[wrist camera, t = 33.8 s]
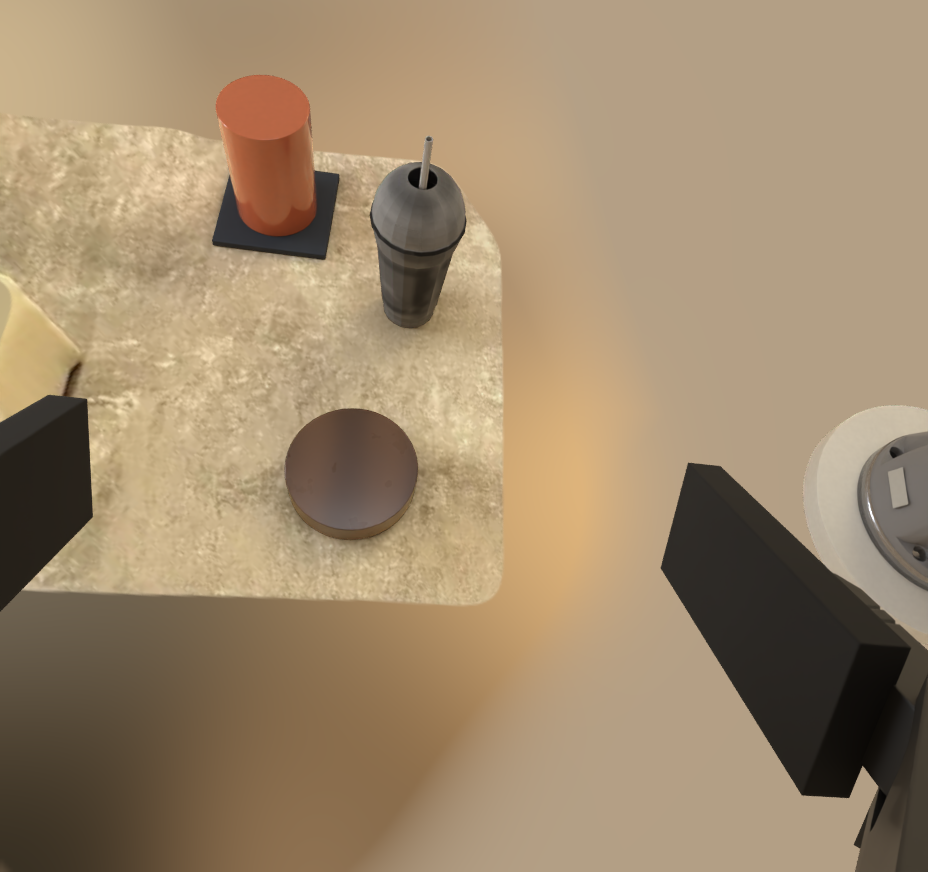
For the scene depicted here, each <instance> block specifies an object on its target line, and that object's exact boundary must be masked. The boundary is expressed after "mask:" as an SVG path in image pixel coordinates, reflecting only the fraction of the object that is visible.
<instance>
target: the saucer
mask: <svg viewBox="0 0 928 872" xmlns="http://www.w3.org/2000/svg"><path fill="white" fill-rule="evenodd" d="M417 475H418V463H417V457H416V453H415V450H414V447H413V445H412V443H411V441H410V440H409V438H408V436H407V435H406V434H405V432H404V431H403V430H402V429H401V428H400V427H399V426H398V425H397V424H395V423H394V422H393V421H391V420H390V419H388V418H387V417H385V416H383V415H381V414H378V413H376V412H372V411H369V410H364V409H353V408H351V409H340V410H335V411H332V412H328V413H326V414H323V415H321V416H319V417H317V418H316V419H314V420H312V421H311V422H310V423H308V424H307V425H306V426H305V427H304V428H303V429H302V430H301V431H300V432H299V433H298V434H297V435H296V437H295V438H294V440H293V442H292V443H291V445H290V447H289V450H288V452H287V456H286V460H285V480H286V485H287V489H288V492H289V496H290V499H291V502H292V504H293V506H294V508H295V510H296V511H297V513H298V514H299V516H300V517H301V518H302V519H303V520H304V521H305V522H306V523H307V524H308V525H309V526H311V527H312V528H313V529H315V530H317V531H318V532H320V533H322V534H325V535H327V536H330V537H334V538H338V539H344V540H356V539H363V538H368V537H372V536H374V535H377V534H379V533H381V532H383V531H385V530H387V529H388V528H390V527H391V526H393V525H394V524H395V523H396V522H397V521H398V520H399V519H400V518H401V517H402V516H403V515H404V513H405V512H406V510H407V509H408V507H409V505H410V503H411V501H412V498H413V495H414V491H415V486H416V481H417Z"/></svg>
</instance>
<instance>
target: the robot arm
mask: <svg viewBox="0 0 928 872" xmlns="http://www.w3.org/2000/svg"><path fill="white" fill-rule="evenodd" d="M857 499H858V507H859V511H860V515H861V518H862V521H863V524H864V527H865V529H866V531H867V533H868V535H869V537H870V539H871V541H872V542H873V544H874V545H875V547H876V548H877V550H878V551H879V552H880V554H881V555H882V556H883V557H884V559H885V560H886V561H887V562H888V563H889V564H890V565H891V566H892V567H893V568H894V569H895V570H896V571H897V572H898V573H900V574H901V575H902V576H903V577H905V578H906V579H907V580H909V581H910V582H912V583H913V584H915V585H917V586H918V587H920V588H922V589H924V590H926V591H928V431H927V432H920V433H914V434H909V435H905V436H902V437H899V438H897V439H895V440H893V441H891V442H889V443H888V444H886V445H884V446H883V447H881V448H879V449H878V450H877V451H875V452H874V453H873V454H872V455H871V456H870V457H869V458H868V460H867V461H866V462H865V464H864V466H863V468H862V470H861V472H860V476H859V480H858V486H857ZM92 517H93V511H92V490H91V470H90V449H89V429H88V408H87V399H83V398H74V397H64V396H55V395H47V396H46V397H44V398H42V399H41V400H39V401H37V402H35V403H34V404H32V405H30V406H28V407H27V408H25V409H23V410H21V411H20V412H18V413H16V414H14V415H13V416H11V417H9V418H7V419H6V420H4V421H2V422H0V611H1V610H2V609H3V608H4V607H5V606H6V605H7V604H8V603H9V602H10V601H11V600H12V599H13V598H14V597H15V596H16V595H17V594H18V593H19V592H20V591H21V590H22V589H23V588H24V587H25V586H26V585H27V584H28V583H29V582H30V581H31V580H32V579H33V578H34V577H35V576H36V575H37V574H38V573H39V572H40V571H41V569H42V568H43V567H44V566H45V565H46V564H47V563H48V562H49V561H50V560H51V559H52V558H53V557H54V556H55V555H56V554H57V553H58V552H59V551H60V550H61V549H62V548H63V547H64V546H65V545H66V544H67V543H68V542H69V541H70V540H71V539H72V538H73V537H74V536H75V535H76V534H77V533H78V532H79V531H80V530H81V529H82V528H83V527H84V526H85V524H86V523H87V522H88V521H89V520H90V519H91V518H92ZM661 569H662V571H663V573H664V574H665V576H666V577H667V579H668V581H669V582H670V584H671V585H672V587H673V589H674V590H675V592H676V594H677V595H678V597H679V598H680V600H681V602H682V603H683V605H684V606H685V608H686V610H687V611H688V613H689V614H690V616H691V618H692V619H693V621H694V623H695V624H696V626H697V627H698V629H699V630H700V632H701V634H702V635H703V637H704V638H705V640H706V642H707V643H708V645H709V647H710V648H711V650H712V651H713V653H714V655H715V656H716V658H717V659H718V661H719V663H720V664H721V666H722V668H723V669H724V671H725V672H726V674H727V675H728V677H729V679H730V680H731V682H732V684H733V685H734V687H735V688H736V690H737V691H738V693H739V695H740V697H741V698H742V700H743V701H744V703H745V705H746V706H747V708H748V709H749V711H750V713H751V714H752V716H753V717H754V719H755V721H756V722H757V724H758V725H759V727H760V729H761V730H762V732H763V733H764V735H765V737H766V738H767V740H768V742H769V743H770V745H771V746H772V748H773V750H774V751H775V753H776V754H777V756H778V758H779V759H780V761H781V763H782V764H783V766H784V767H785V769H786V771H787V772H788V774H789V775H790V777H791V779H792V780H793V782H794V783H795V785H796V787H797V788H798V790H799V791H800V793H801V795H806V796H823V797H840V798H849V797H850V795H851V792H852V790H853V787H854V785H855V782H856V780H857V778H858V775H859V773H860V770H861V768H862V766H863V767H864V768H865V769H866V771H867V772H868V773H869V775H870V776H871V777H872V779H873V780H874V781H875V782H876V784H877V785H878V786H879V787H878V790H877V792H876V794H875V797H874V799H873V801H872V803H871V806H870V808H869V810H868V813H867V815H866V818H865V820H864V822H863V824H862V827H861V829H860V832H859V834H858V836H857V838H856V841H855V843H854V845H855V846H857V847H858V848H860V853H859V857H858V861H857V866H856V870H855V872H928V650H927V649H926V648H925V647H924V646H922V645H921V644H920V643H919V642H918V641H917V640H916V639H915V638H914V637H913V636H912V635H911V634H909V633H908V632H907V631H906V630H905V629H904V628H903V627H902V626H901V625H900V624H896V623H895V620H894V619H893V618H892V617H891V616H890V615H889V614H888V613H887V612H886V611H885V610H880V606H879V605H878V604H877V603H876V602H875V601H874V600H873V599H872V598H871V597H869V596H868V595H867V594H866V593H865V592H864V591H863V590H862V589H860V588H859V587H857V586H855V585H854V584H852V583H850V582H849V581H847V580H845V579H844V578H842V577H840V576H839V575H837V574H835V573H832V572H831V571H830V570H829V569H828V568H827V567H826V566H825V565H824V564H823V563H822V562H821V561H820V560H818V559H817V558H816V557H815V556H814V555H813V554H812V553H811V552H810V551H809V550H808V549H807V548H806V547H805V546H804V545H803V544H802V543H801V542H799V541H798V540H797V539H796V538H795V537H794V536H793V535H792V534H791V533H790V532H789V531H788V530H787V529H786V528H785V527H784V526H783V525H781V523H780V522H778V521H777V520H776V519H775V518H774V517H773V516H772V515H771V514H770V513H769V512H768V511H767V510H766V509H765V508H764V507H763V506H762V505H761V504H759V503H758V502H757V501H756V500H755V499H754V498H753V497H752V496H751V495H750V494H749V493H748V492H747V491H746V490H745V489H744V488H743V487H741V485H739V484H738V483H737V482H736V481H735V480H734V479H733V478H732V477H731V476H730V475H729V474H728V473H727V472H726V471H725V470H723V468H722V467H721V466H714V465H704V464H694V463H688V466H687V469H686V473H685V477H684V481H683V485H682V488H681V492H680V496H679V500H678V504H677V507H676V511H675V515H674V519H673V523H672V527H671V531H670V535H669V538H668V542H667V546H666V550H665V554H664V557H663V561H662V566H661Z"/></svg>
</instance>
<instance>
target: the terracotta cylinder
mask: <svg viewBox="0 0 928 872" xmlns="http://www.w3.org/2000/svg"><path fill="white" fill-rule="evenodd" d="M216 113H217V117H218V122H219V127H220V131H221V136H222V140H223V145H224V149H225V154H226V158H227V163H228V168H229V172H230V177H231V181H232V186H233V190H234V195H235V199H236V204H237V209H238V213H239V215H240V217H241V219H242V220H243V222H244V223H245V224H246V225H247V226H248V227H250V228H251V229H253V230H254V231H256V232H258V233H261V234H264V235H269V236H288V235H292V234H295V233H298V232H300V231H302V230H303V229H305V228H306V227H307V226H308V225H309V224H310V223H311V222H312V221H313V219H314V218H315V215H316V212H317V196H316V183H315V170H314V156H313V144H312V130H311V116H310V105H309V101H308V99H307V97H306V96H305V94H304V93H303V92H302V91H301V89H300V88H298V87H297V86H296V85H294V84H293V83H291V82H289V81H287V80H285V79H282V78H279V77H275V76H269V75H252V76H247V77H243V78H240V79H237V80H235V81H233V82H231V83H230V84H228V85H227V86H226V87H225V88H223V90H222V91H221V92H220V94H219V95H218V98H217V101H216Z"/></svg>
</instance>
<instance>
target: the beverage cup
mask: <svg viewBox="0 0 928 872" xmlns="http://www.w3.org/2000/svg"><path fill="white" fill-rule="evenodd" d="M432 143H433V138H432V137H430V136H427V137H426V138H425V144H424V151H423V160H422V162H414V163H408V164H405V165H402V166H400V167H398V168H396V169H395V170H393V171H392V172H390V173H389V174H388V175H387V176H386V177H385V179H384V180H383V181H382V183H381V184H380V186H379V187H378V189H377V191H376V194H375V198H374V201H373V203H372V207H371V212H370V219H371V225H372V228H373V230H374V235H375V239H376V243H377V247H378V258H379V269H380V281H381V292H382V299H383V303H384V311H385V313H386V315H387V317H388V318H389V319H390V320H391V321H392V322H393V323H395V324H397V325H399V326H401V327H407V328H413V327H418V326H421V325H424V324H425V323H426V322H427V321H429V320H430V318H431V316H432V315H433V311H434V308H435V306H436V305H437V302H438V298H439V295H440V292H441V289H442V286H443V283H444V280H445V276H446V273H447V270H448V267H449V264H450V261H451V258H452V254H453V252H454V251H455V249H456V247H457V245H458V243H459V241H460V239H461V238H462V236H463V235H464V233H465V227H466V216H465V212H466V211H465V204H464V201H463V197H462V193H461V190H460V189H459V187H458V186H457V184H456V183H455V181H454V180H453V178H452V177H451V176H450V175H449V174H447V173H446V172H445V171H444V170H443V169H441V168H439V167H437V166H435V165H432V164H430V158H431V150H432Z"/></svg>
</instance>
